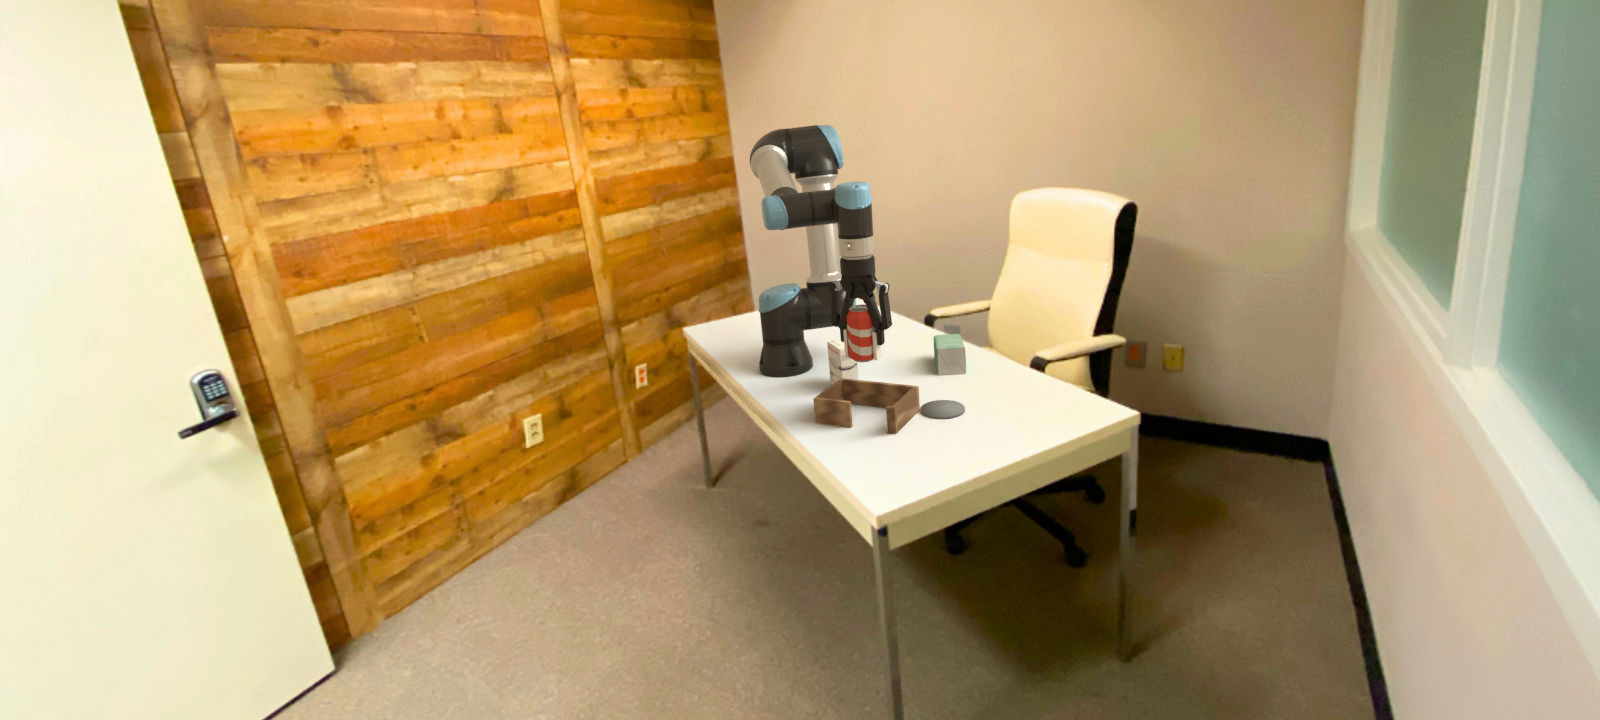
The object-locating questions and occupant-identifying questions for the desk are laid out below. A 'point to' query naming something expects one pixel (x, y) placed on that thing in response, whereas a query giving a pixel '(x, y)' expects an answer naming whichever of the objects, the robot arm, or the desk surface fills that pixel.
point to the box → (949, 354)
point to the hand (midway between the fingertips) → (863, 356)
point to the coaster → (942, 409)
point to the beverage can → (860, 334)
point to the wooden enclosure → (867, 402)
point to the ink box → (840, 363)
